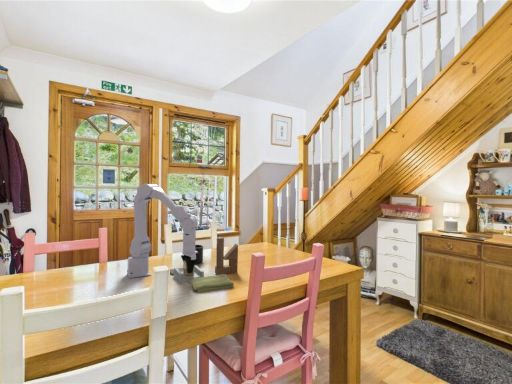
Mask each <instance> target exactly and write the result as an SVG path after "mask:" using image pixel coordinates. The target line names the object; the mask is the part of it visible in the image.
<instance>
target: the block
mask: <svg viewBox="0 0 512 384" xmlns="http://www.w3.org/2000/svg"><path fill="white" fill-rule="evenodd" d="M182 263H183V267H182V268H183V274H184V275H185V276H187V275H194V269H193V273H188V272H187V265H186V261H183V260H182Z"/></svg>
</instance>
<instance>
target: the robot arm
mask: <svg viewBox="0 0 512 384" xmlns="http://www.w3.org/2000/svg"><path fill="white" fill-rule="evenodd" d="M152 199H155V200H156V199H157V200H159V201H160V202H161V203H162V204H163V205H165V207H167V208H168V209H169V210H170V214H171V216H173V217H174V218H175V219H176V220H177V221H178V222H179V223H180V227H181V228H182V230H183V231H182V232H183V233H182V255H180V258H181V260H182V262H183V261H186V265H187V272H188V273H193V269H194V266H195V265H196V264H195V263H196V261H197V258H196V253H198V251H195V245H196V235H197V234H196V233H197V231H196V230H197V228H196V227H197V226H198V220H197V218H196V217H195V216H193V215H192V214H191V213H188V211H186V209H185V207H184V206H183V205H180V204H179V205H178V204H176V203H175V202H174V201H173V199H172V198H170V197H169V195H167V193H166V192H165V191H164V190H163V188H161V187H160V186H159V185H158V183H157V184H156V183H149V184H148V183H142V184H140V185H139V186H138V187H137V188H136V193H135V197H134V198H133V218H134V219H133V220H134V221H133V222H134V236H133V238H132V240H131V242H130V243H131V244H130V247H129V254H130V255H131V256H129V257H127V269H126V273H127V276H128V278H129V279H132V278H138V277H146V276H147V277H149V276H151V273H150V271H149V265H150V264H149V263H150V262H149V259H150V257H149V256H150V252H151V251H152V248H153V247H152V243H151V241H150V236H148V230H147V229H148V228H147V227H148V226H147V225H148V224H147V223H148V222H147V204H148V202H149V201H151V200H152Z"/></svg>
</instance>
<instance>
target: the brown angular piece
mask: <svg viewBox="0 0 512 384" xmlns="http://www.w3.org/2000/svg"><path fill="white" fill-rule="evenodd" d="M238 258H239V245H238V244H237V243H234V245H233V246H231V248H230V249H229V250H228V251H227V253H225V237H223V236H219V237H217V238H216V259H215V260H216V262H215V264H216V265H215V267H214V273H215V274H216V275H220V274H225V275H230V274H231V275H232V274H237V273H238V266H239V265H238V264H239V263H238ZM224 261H228V265H226V264H225V265H224V263H225V262H224Z"/></svg>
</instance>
